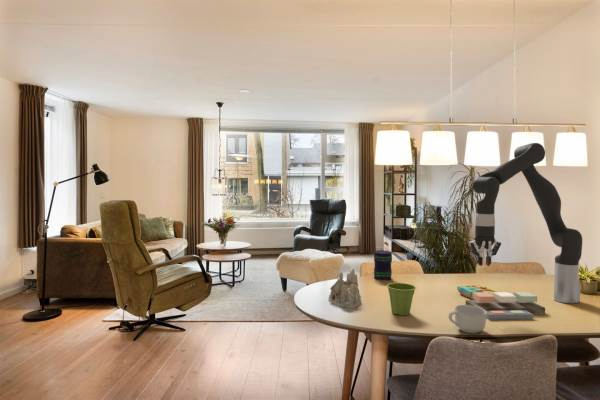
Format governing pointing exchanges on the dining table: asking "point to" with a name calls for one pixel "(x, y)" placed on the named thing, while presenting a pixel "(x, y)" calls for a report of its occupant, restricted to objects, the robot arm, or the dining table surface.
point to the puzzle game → (473, 290)
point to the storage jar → (382, 265)
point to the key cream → (504, 297)
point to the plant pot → (401, 297)
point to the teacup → (469, 318)
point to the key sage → (525, 297)
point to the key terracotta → (483, 297)
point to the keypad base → (508, 306)
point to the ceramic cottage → (346, 291)
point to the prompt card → (508, 315)
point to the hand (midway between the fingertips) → (484, 265)
